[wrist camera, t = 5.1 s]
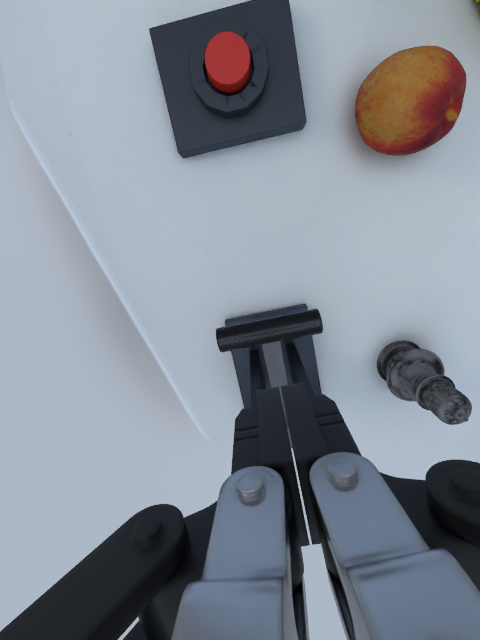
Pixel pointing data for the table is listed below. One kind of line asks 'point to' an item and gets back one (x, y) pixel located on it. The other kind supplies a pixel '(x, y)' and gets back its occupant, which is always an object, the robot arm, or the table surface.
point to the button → (227, 61)
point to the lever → (271, 341)
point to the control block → (243, 105)
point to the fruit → (410, 100)
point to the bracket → (295, 359)
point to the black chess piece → (422, 381)
